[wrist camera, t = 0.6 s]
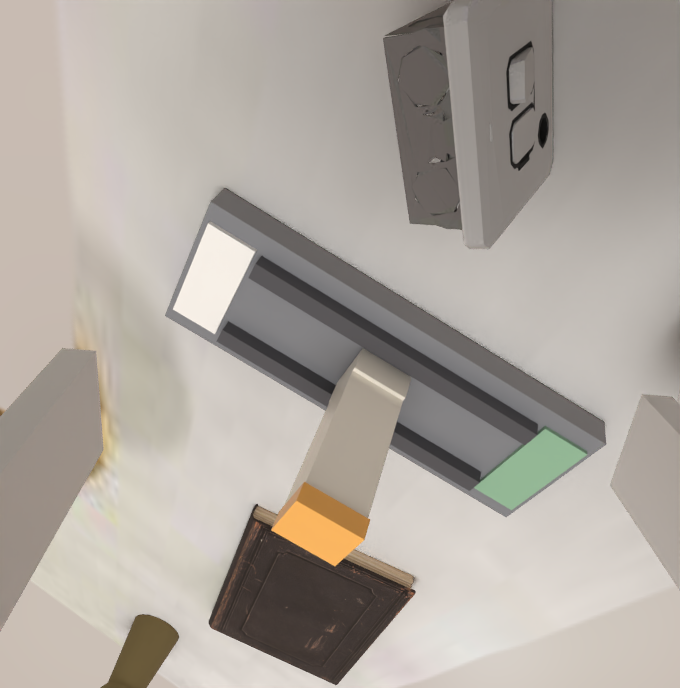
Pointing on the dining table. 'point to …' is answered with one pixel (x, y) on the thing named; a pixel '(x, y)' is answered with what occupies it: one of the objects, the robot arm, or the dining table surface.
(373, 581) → the hardcover book
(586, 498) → the dining table surface
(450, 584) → the dining table surface
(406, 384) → the breaker handle
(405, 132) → the electrical switch
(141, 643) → the cork
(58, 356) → the robot arm
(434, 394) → the panel
